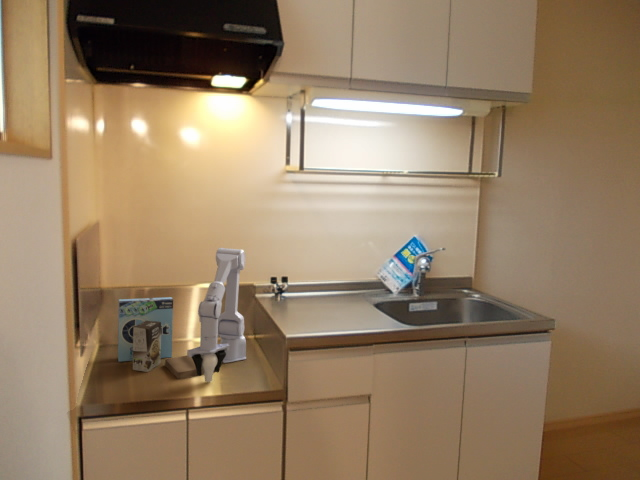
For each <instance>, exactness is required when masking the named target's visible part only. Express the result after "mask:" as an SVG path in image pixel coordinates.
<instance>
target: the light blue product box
mask: <svg viewBox="0 0 640 480" xmlns="http://www.w3.org/2000/svg"><path fill="white" fill-rule="evenodd" d="M173 318H174V299H173V297H171V296H169V297H167V296H166V297H143V298H125V299H124V298H122V299H121V298H120V299H118V327H117V328H118V331H117V332H118V333H117V335H118V336H117V337H118V339H117V340H118V341H117V342H118V343H117V360H118V363H120V362H121V363H122V362H130V361H131V362H133V327H135V326H137V325H139V324H141V323H143V322H144V321H156V322H161V359H169V358H173V327H174V326H173V324H174V323H173V322H174V321H173V320H174V319H173Z"/></svg>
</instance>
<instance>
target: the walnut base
mask: <svg viewBox="0 0 640 480" xmlns="http://www.w3.org/2000/svg"><path fill="white" fill-rule="evenodd" d="M201 355H202V354H201ZM201 355H200V356H201ZM164 366H165V367H166V368H167V370H169V372H170V373H171V374H172V375H173V376H174V377H175V378H176V379H177V380H183V379H188V378H192V377H199V376H198V375H197V370H196V366H195V363H194V361H193V359H192V357H188V356H187V355H181V356H177V357H171V358H164ZM214 373H217V372H216V371H215V368H214V371H213V374H214ZM201 376H204V371H203V369H202V373H201Z"/></svg>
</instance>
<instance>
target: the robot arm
mask: <svg viewBox="0 0 640 480" xmlns="http://www.w3.org/2000/svg"><path fill="white" fill-rule="evenodd" d="M215 262H216V265H217V268H216V272H215V277H214V280H213V282H211V283H209V285H208V288H207V291H206V293H205V296H204V299H203V301H200V302H199V305H198V311H197V312H198V313H197V314H198V317H199V323H200V341H199V344H200V345H199V346H196V347H194V348H191V349H187V350H186V351H187V352H186V354H187V355H186V356H188V357H192V359H193V361H194V363H195V366H196V370H197V375H198V376H197V377H201V376H202V375H201V373H202V361H203V359H202V358H201V356H200V355H201V354H206V353H215V354H216V356H217V359H218V362H217V365H216V367H215V371H216V372H215V373H217V374H219V373H220V369H221V365H222V364H227V363H232V362H239V361H242V360H243V361H244V360H246V359H247V355H246V354H247V341H246V337H245V335H244V332H245V316H243V314H241V313H240V312H238V309H239V308H238V305H239V289H240V288H239V287H240V285H239V284H240V274H241V271H242V270H244V269H245V267H246V253H245V250H244V249H242V248H240V249H238V248H226V247H225V248H224V247H218V248H217V250H216V253H215ZM225 283H226V285H225ZM224 296H225V300H224V301H225V302H224V304H225V305H224V311H223V312H222V306H223V303H222V301H223V298H224ZM218 337H219V338H220V343H218V339H219V338H218Z"/></svg>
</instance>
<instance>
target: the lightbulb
mask: <svg viewBox="0 0 640 480" xmlns="http://www.w3.org/2000/svg"><path fill="white" fill-rule="evenodd" d="M201 358H202V359H203V361H202V369H203V371H204V375H203V377H204V382H205V383H211V382H212V381H213V376H214V373H213V371H214V368H215V367H216V365H217V362H218V359H217V356H216V354H215V353H206V354H202V355H201Z"/></svg>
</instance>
